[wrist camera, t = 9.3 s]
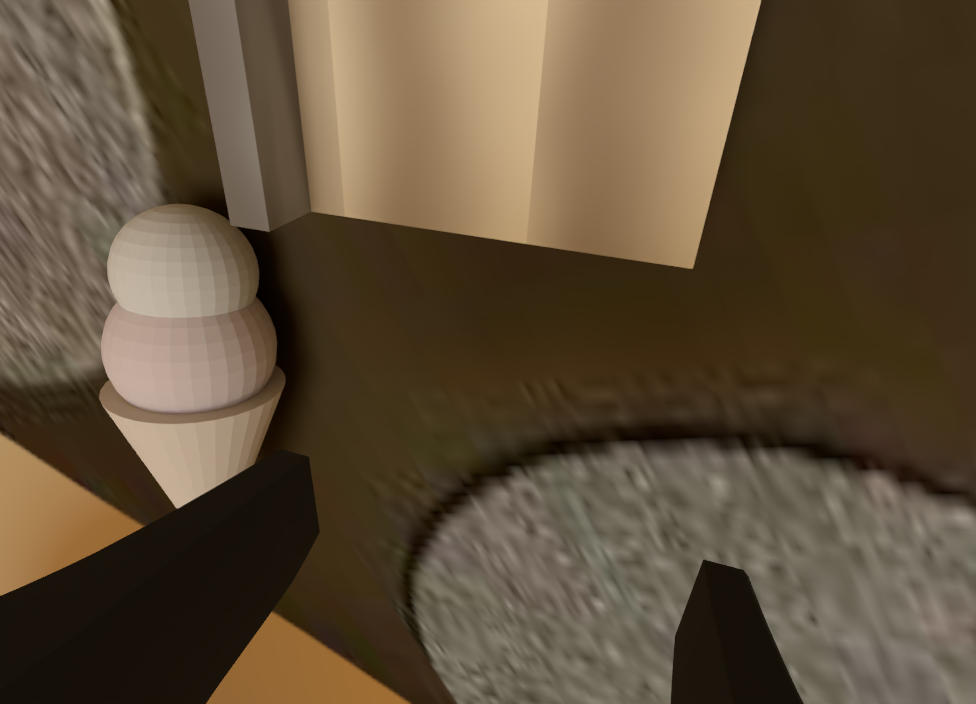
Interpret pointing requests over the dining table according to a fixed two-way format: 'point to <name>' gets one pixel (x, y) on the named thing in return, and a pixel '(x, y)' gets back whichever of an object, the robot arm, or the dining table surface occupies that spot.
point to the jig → (478, 115)
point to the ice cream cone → (188, 348)
